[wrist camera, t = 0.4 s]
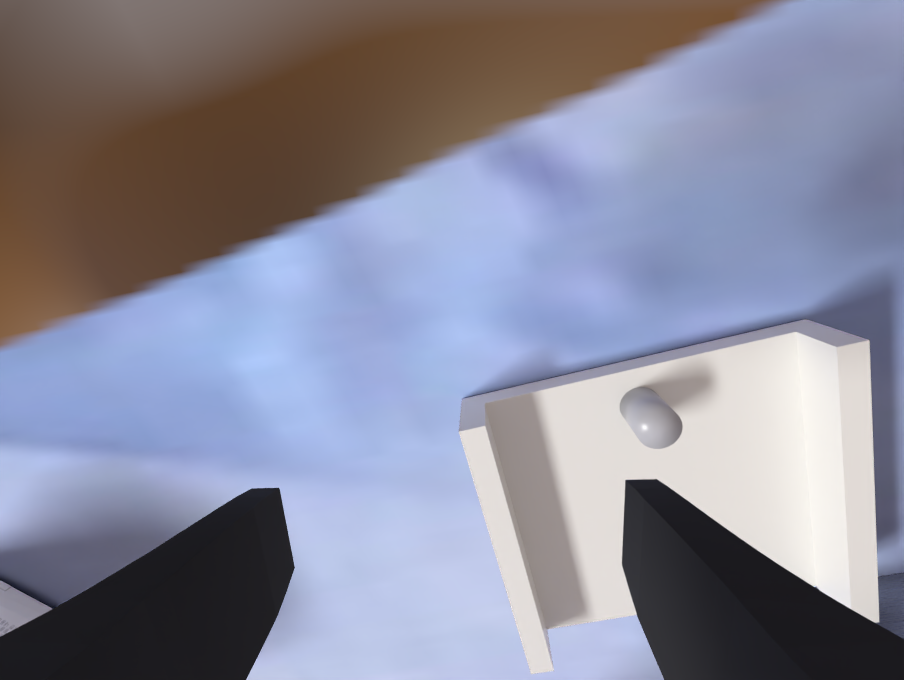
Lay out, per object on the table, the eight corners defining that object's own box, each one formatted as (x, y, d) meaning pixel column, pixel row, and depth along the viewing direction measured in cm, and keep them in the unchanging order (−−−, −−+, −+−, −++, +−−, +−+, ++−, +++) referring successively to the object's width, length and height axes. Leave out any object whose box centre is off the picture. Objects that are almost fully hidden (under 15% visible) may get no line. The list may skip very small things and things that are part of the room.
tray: (823, 564, 21) (879, 622, 18) (524, 614, 22) (531, 674, 20) (805, 318, 18) (869, 340, 15) (461, 398, 19) (458, 431, 16)
